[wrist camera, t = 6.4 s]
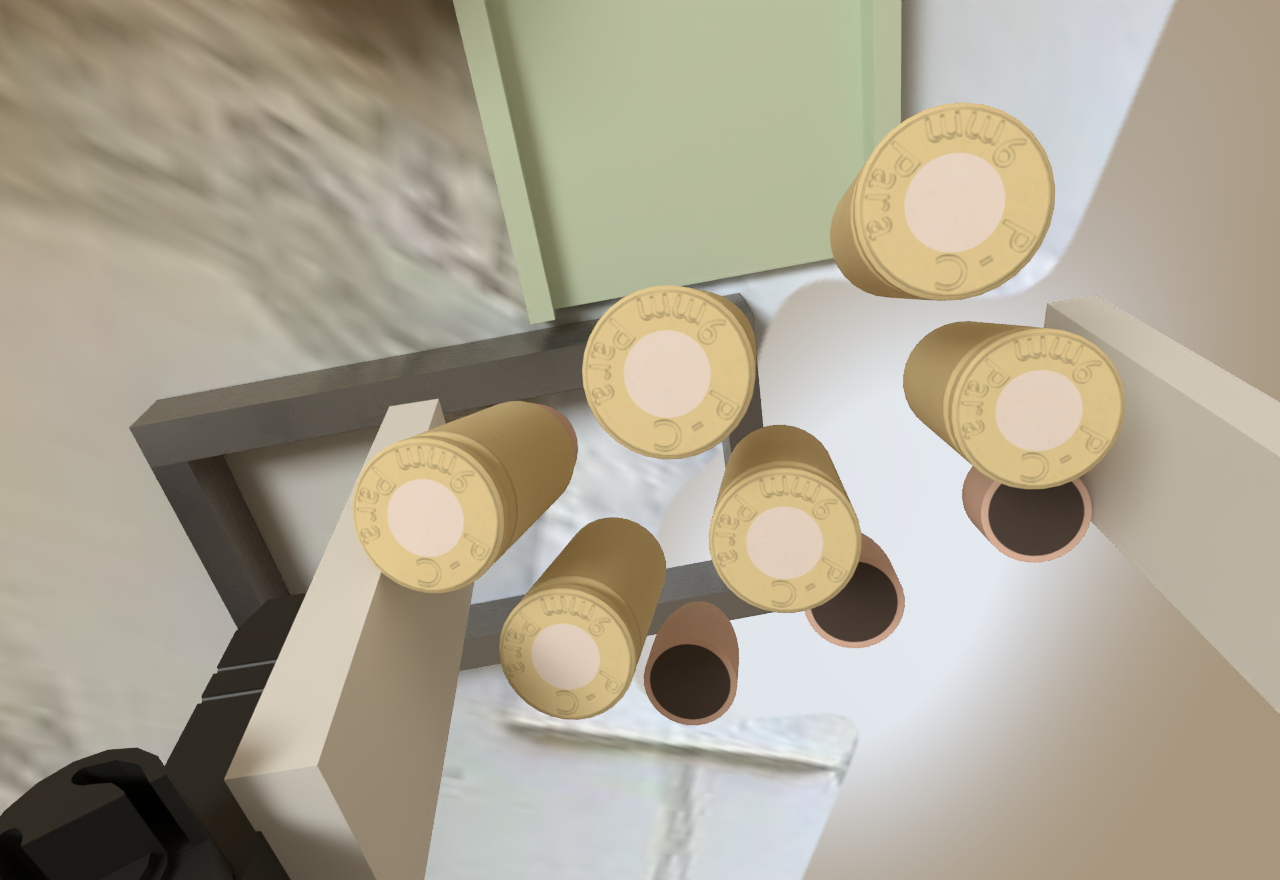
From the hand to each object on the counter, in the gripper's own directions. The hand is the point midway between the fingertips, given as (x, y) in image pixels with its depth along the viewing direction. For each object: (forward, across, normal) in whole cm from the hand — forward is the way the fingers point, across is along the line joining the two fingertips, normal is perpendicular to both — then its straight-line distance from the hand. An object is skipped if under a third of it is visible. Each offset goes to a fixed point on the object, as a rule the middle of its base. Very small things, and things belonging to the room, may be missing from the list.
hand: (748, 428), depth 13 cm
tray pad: (+15, -1, -3) cm, 15 cm away
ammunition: (+1, 0, 0) cm, 1 cm away
